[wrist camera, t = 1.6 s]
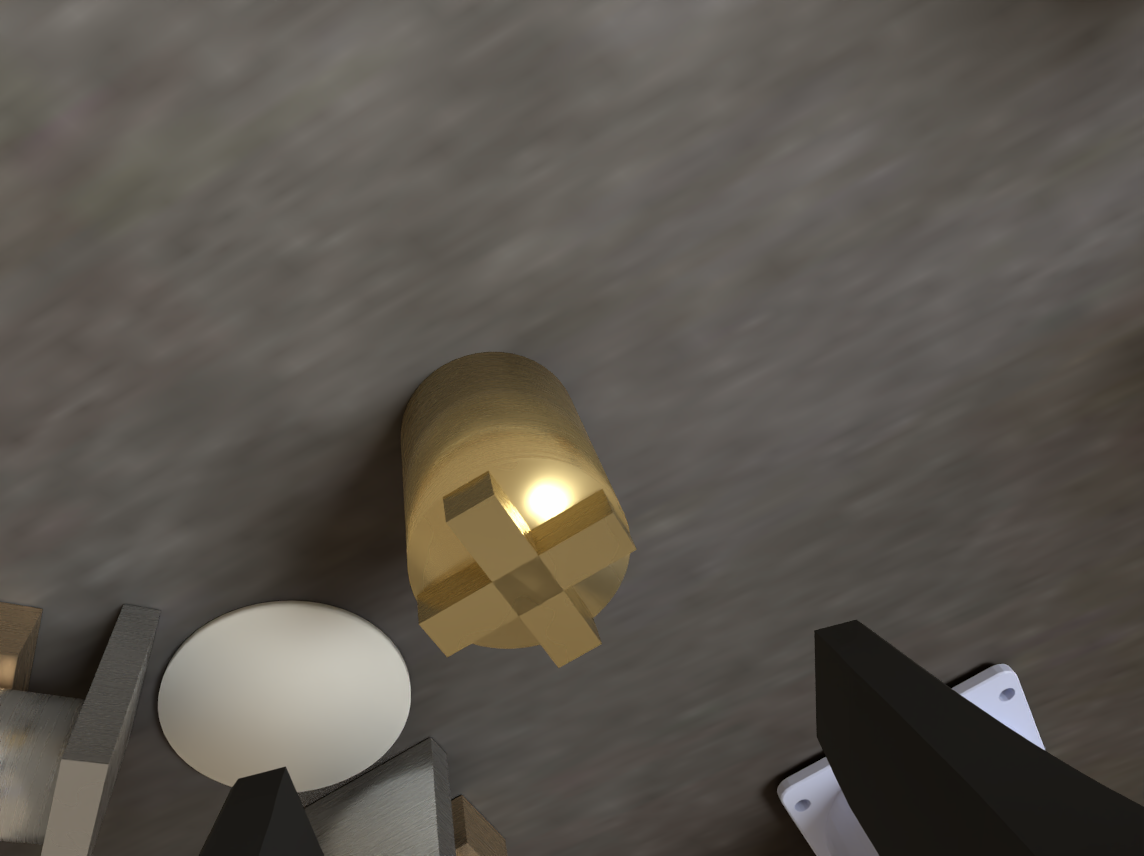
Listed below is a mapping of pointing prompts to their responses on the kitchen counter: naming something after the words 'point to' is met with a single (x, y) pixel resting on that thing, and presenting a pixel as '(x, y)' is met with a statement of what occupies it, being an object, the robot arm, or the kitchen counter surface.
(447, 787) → the shaft
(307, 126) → the kitchen counter surface
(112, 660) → the shaft
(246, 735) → the seat
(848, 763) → the robot arm
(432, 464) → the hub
